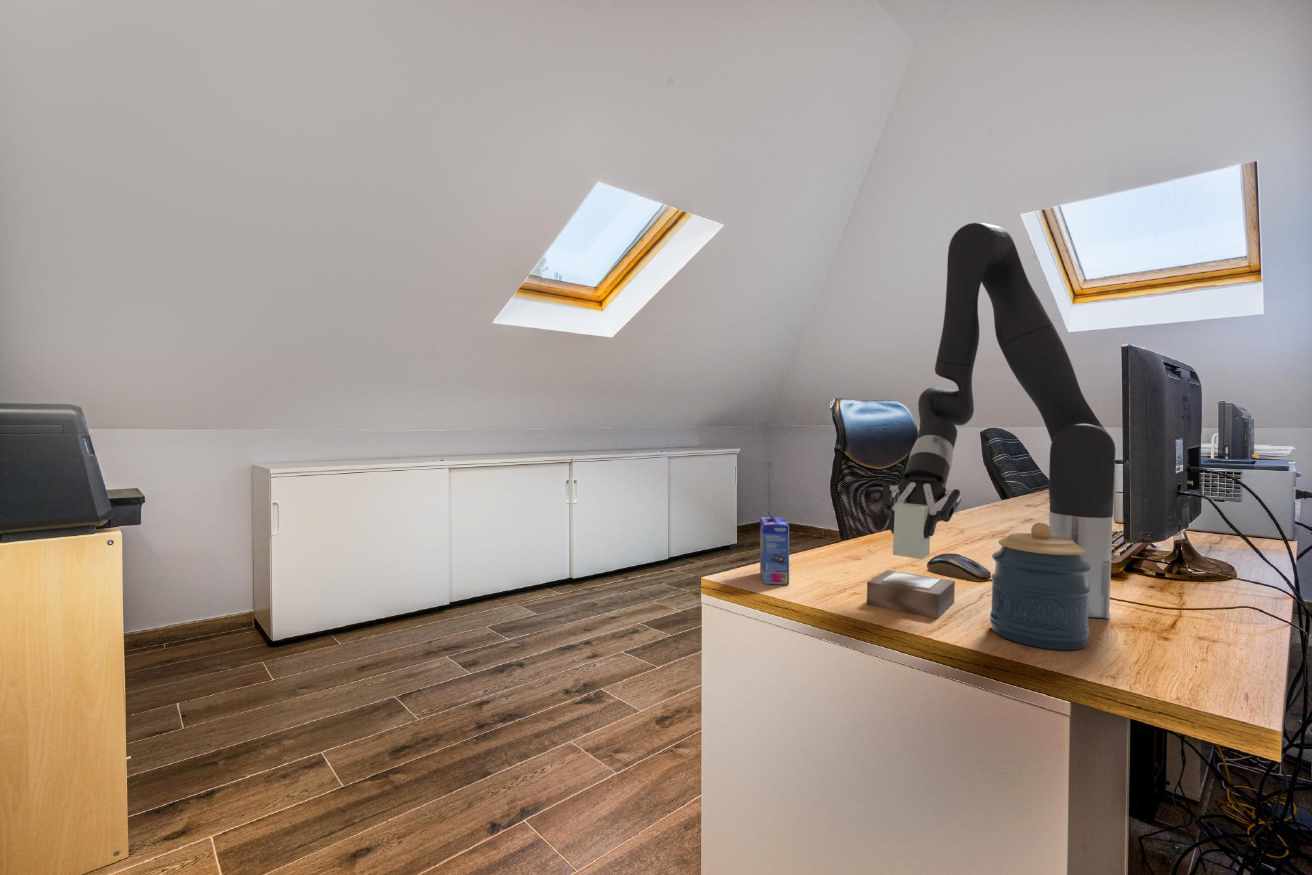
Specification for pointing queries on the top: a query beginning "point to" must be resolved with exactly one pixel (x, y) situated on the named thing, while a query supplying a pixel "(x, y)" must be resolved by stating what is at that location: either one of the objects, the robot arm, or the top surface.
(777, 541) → the ink cartridge box
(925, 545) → the sage block
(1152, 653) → the top surface
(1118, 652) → the top surface
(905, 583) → the walnut plinth
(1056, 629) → the canister
